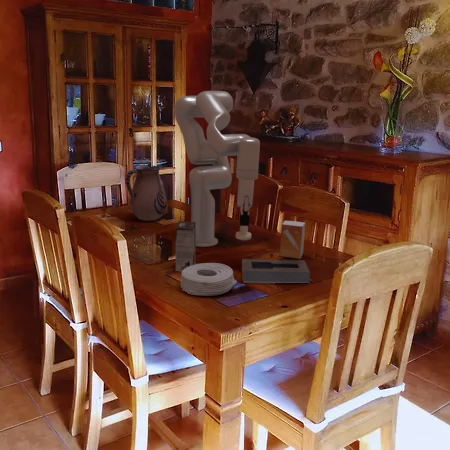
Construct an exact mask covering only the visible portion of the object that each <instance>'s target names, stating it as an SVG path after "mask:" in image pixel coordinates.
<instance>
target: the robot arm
mask: <svg viewBox="0 0 450 450" xmlns="http://www.w3.org/2000/svg"><path fill="white" fill-rule="evenodd" d="M233 106H234V99H233V97H232V95H231V94H230V93H229V92H227V91H226V90H225V91H223V90H204V91H201V92H200V93H198V94H197V95H185V96H184V95H183V96H181V97H179V98H178V99H177V100H176V101H175V104H174V117H175V120H176V124H177V125H178V128H179V129H180V132H181V135H182V139H183V142H184V147H185V151H186V155H187V159H188V161H189V162H190V164H192V165H201V166H196V167H194V168H193V169H191V170H190V172H189V175H188V180H189V181H188V183H189V187H190V201H191V203H190V204H191V205H190V207H191V209H190V210H191V211H190V212H191V213H190V220H191V221H190V222H196V231H195V247H198V248H199V247H200V248H205V247H212V246H216V245H217V244H218V242H219V239H218V238H216V237H215V214H216V213H215V212H216V203H215V202H216V200H215V198H214V196H213V194H212V193H211V190H220V189H227V188H228V187H230V185H231V184H232V178H233V176H232V170H231V166H230V162H229V159H228V157H230V156H231V157H232V156H234V157H235V156H237V158H236V175H235V176H236V177H235V178H237V179H238V183H237V185H238V186H237V198H236V199H237V202H236V203H237V207H238V208H241V206H242V210H241V209H240V211H239V227H240V226H248V227H249V226H250V208H252V206H253V199H254V189H255V180H258V179H259V166H260V165H259V164H260V163H259V162H260V152H261V151H260V150H261V147H260V146H261V142H260V139H258V138H256V137H251V136H250V135H248V134H246V133H230V134H227V133H225V134H223V133H221V131H222V130H224V129H225V128H226V127H227V126H228V125H229V123H230V121H231V115H230V112H232V110H233ZM194 118H203V119H205V121H206V123H207V124H208V125H207V127H206V136H205V133H204V129H203V127H202V126H201V125H200V124H199V122H198V121H197V120H195V119H194ZM202 165H203V166H202ZM244 199H245V200H244ZM243 205H244V206H243ZM243 208H244V209H243Z"/></svg>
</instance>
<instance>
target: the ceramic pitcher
mask: <svg viewBox="0 0 450 450" xmlns="http://www.w3.org/2000/svg"><path fill="white" fill-rule="evenodd" d="M160 169H161V168H160V166H158V165H152V166H149V165H147V164H146V165H137V166H134V167H133V168H132V169H130V170H129V171H127V174H126V176H125V184H126V188H127V191H128V194H129V195H130V197H129V209H130V212H131V213H132V215H133V216H134V217H135V218H136V219H137V220H139V221H143V222H150V221H157V220H159V219H160V218H161V217H162V216H163V215H164V214H165V212H166V211H167V207H168V205H167V204H168V199H167V195H166V190H165V187H164V183H163V180H162V179H161V176H160ZM134 174H136V176H135V179H134V182H133V186H131V185H132V184H131V178H132V175H134Z"/></svg>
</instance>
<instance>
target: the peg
mask: <svg viewBox="0 0 450 450" xmlns="http://www.w3.org/2000/svg"><path fill="white" fill-rule="evenodd" d="M244 200H245V199H244ZM243 206H244V205H243ZM243 209H244V208H243ZM241 210H242V206H240V211H241ZM235 239H237V240H239V241H249V240H252V233H251V232H249V226H240V225H239V231H236V232H235Z"/></svg>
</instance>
